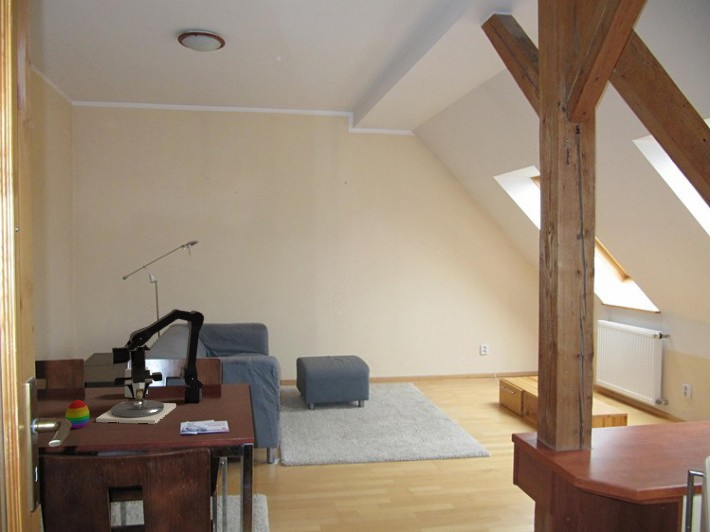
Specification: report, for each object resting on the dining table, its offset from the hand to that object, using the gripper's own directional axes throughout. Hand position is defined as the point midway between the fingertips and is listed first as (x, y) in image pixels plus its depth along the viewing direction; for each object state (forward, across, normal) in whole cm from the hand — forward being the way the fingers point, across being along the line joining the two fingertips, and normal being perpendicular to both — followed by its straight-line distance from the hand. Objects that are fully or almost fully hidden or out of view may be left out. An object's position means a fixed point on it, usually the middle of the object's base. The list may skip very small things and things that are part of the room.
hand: (138, 398), depth 244 cm
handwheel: (+2, -1, -9) cm, 9 cm away
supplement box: (+4, 0, +21) cm, 21 cm away
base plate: (+4, -1, -9) cm, 10 cm away
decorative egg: (+4, -22, -18) cm, 29 cm away
